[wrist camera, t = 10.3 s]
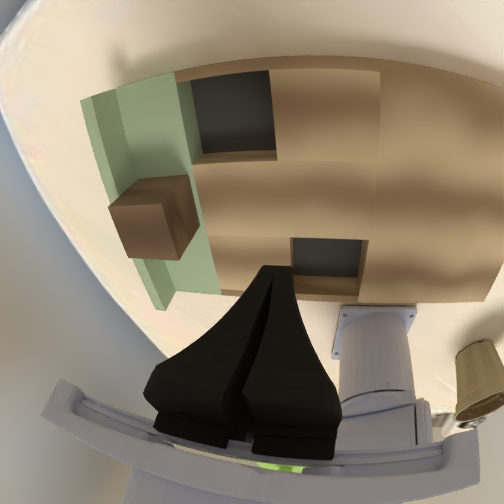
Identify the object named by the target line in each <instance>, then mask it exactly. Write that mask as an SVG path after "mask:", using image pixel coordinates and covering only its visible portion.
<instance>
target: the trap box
mask: <svg viewBox="0 0 504 504" xmlns="http://www.w3.org/2000/svg"><path fill="white" fill-rule="evenodd" d="M80 102H81V106H82V111H83V115H84V119H85V123H86V127H87V130H88V134H89V138H90V141H91V145H92V148H93V152H94V155H95V159H96V162H97V165H98V168H99V171H100V174H101V178H102V181H103V184H104V187H105V189H106V192H107V195H108V198H109V201H110V204H112V203H113V202H114V201H115V200H116V199H117V198H118V197H119V196H120V195H122V194H123V193H124V192H125V191H126V190H127V189H128V188H129V187H131V186H132V185H133V184H134V183H135V182H136V181H137V180H139V179H144V178H153V177H164V176H175V175H188V174H189V178H190V183H191V187H192V192H193V196H194V201H195V205H196V209H197V214H198V218H199V222H200V227H199V228H198V230H197V232H196V233H195V235H194V237H193V238H192V240H191V242H190V243H189V245H188V247H187V248H186V250H185V252H184V253H183V255H182V257H181V259H180V260H179V261H171V260H154V259H137V258H132V259H133V261H134V264H135V266H136V268H137V271H138V273H139V275H140V277H141V279H142V282H143V284H144V286H145V288H146V290H147V292H148V294H149V296H150V299H151V301H152V303H153V305H154V307H155V309H156V310H162V311H166V309H167V307H168V305H169V303H170V301H171V299H172V297H173V296H174V294H175V292H176V291H182V292H193V293H203V294H215V295H227V296H240V297H241V295H242V294H243V293H244V291H245V290H246V289H247V288H248V286H249V285H250V283H251V282H252V281H253V279H254V278H255V276H256V275H257V273H258V271H259V270H260V268H261V267H262V266H263V265H280V266H292V267H293V268H294V291H295V296H296V300H306V301H330V302H364V303H456V302H484V300H485V298H486V296H487V295H488V293H489V291H490V289H491V287H492V285H493V283H494V281H495V279H496V277H497V275H498V273H499V271H500V269H501V266H502V264H503V262H504V89H503V88H500V87H497V86H494V85H492V84H489V83H486V82H483V81H480V80H476V79H473V78H470V77H466V76H463V75H459V74H456V73H452V72H448V71H444V70H439V69H435V68H430V67H425V66H420V65H415V64H409V63H403V62H396V61H389V60H381V59H371V58H360V57H345V56H283V57H267V58H256V59H246V60H238V61H230V62H223V63H217V64H211V65H205V66H199V67H194V68H189V69H185V70H180V71H176V72H171V73H167V74H163V75H159V76H155V77H152V78H148V79H145V80H141V81H138V82H134V83H131V84H128V85H125V86H122V87H119V88H116V89H113V90H109V91H106V92H103V93H100V94H97V95H94V96H91V97H88V98H86V99H83V100H81V101H80Z"/></svg>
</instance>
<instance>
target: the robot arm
mask: <svg viewBox="0 0 504 504" xmlns="http://www.w3.org/2000/svg"><path fill="white" fill-rule="evenodd" d="M416 314H417V308H416V307H373V306H343V307H342V308H341V309H340V315H339V321H338V326H337V331H336V336H335V341H334V346H333V351H332V359H333V360H340V371H339V395H338V394H337V390H336V387H335V385H334V384H333V382H332V381H331V379H330V378H329V376H328V374H327V373H326V371H325V369H324V367H323V366H322V364H321V362H320V360H319V358H318V356H317V354H316V352H315V350H314V348H313V346H312V344H311V341H310V339H309V337H308V334H307V332H306V329H305V327H304V324H303V321H302V318H301V315H300V311H299V308H298V304H297V300H296V296H295V291H294V268H293V267H292V266H280V265H263V266H262V267H261V268H260V270H259V271H258V273H257V275H256V276H255V278H254V279H253V281H252V282H251V283H250V285H249V286H248V288H247V289H246V290H245V291H244V293H243V294H242V295H241V297H240V298H239V299H238V300H237V302H236V303H235V304H234V305H233V306H232V307H231V309H230V310H229V311H228V312H227V313H226V314H225V315H224V316H223V317H222V318H221V319H220V320H219V321H218V322H217V323H216V324H215V325H214V326H213V327H212V328H211V329H209V330H208V331H207V332H206V333H205V334H204V335H202V336H201V337H200V338H199V339H197V340H196V341H195V342H193V343H192V344H191V345H189V346H188V347H186V348H185V349H183V350H182V351H181V352H179V353H177V354H176V355H174V356H172V357H171V358H169V359H167V360H166V361H164V362H162V363H160V364H158V365H156V367H155V369H154V370H153V372H152V374H151V376H150V378H149V380H148V382H147V385H146V387H145V389H144V392H143V395H144V397H145V399H146V400H147V401H148V402H149V403H150V404H151V405H152V406H153V407H154V408H155V409H156V410H157V411H158V414H157V417H156V420H155V421H154V420H151V419H148V418H145V417H142V416H139V415H136V414H133V413H130V412H128V411H125V410H122V409H120V408H117V407H115V406H112V405H110V404H107V403H105V402H102V401H100V400H98V399H95V398H93V397H91V396H88V395H86V394H84V392H83V391H82V390H81V389H80V388H78V387H77V386H75V385H74V384H72V383H70V382H68V381H66V380H64V379H61V378H60V379H59V381H58V382H57V384H56V386H55V388H54V390H53V392H52V394H51V395H50V398H49V399H48V401H47V403H46V405H45V407H44V409H43V411H42V413H41V416H42V417H44V418H45V419H47V420H48V421H50V422H51V423H52V424H54V425H56V426H57V427H59V428H60V429H62V430H63V431H65V432H66V433H68V434H70V435H71V436H73V437H75V438H77V439H78V440H80V441H82V442H84V443H85V444H87V445H89V446H91V447H93V448H94V449H96V450H98V451H100V452H102V453H104V454H106V455H108V456H110V457H112V458H114V459H116V460H118V461H121V462H123V463H125V464H127V465H130V466H132V467H133V469H132V472H131V475H130V477H129V480H128V483H127V486H126V489H125V492H124V494H123V497H122V500H121V503H120V504H402V503H403V502H408V501H414V500H420V499H425V498H429V497H434V496H438V495H442V494H446V493H450V492H454V491H457V490H460V489H464V488H467V487H470V486H473V485H476V484H478V483H479V482H480V459H479V458H480V457H479V441H478V430H477V429H474V430H470V431H465V432H461V433H457V434H453V435H450V436H448V437H447V438H445V439H444V440H443V441H440V442H434V443H433V433H432V420H431V411H430V404H429V402H428V401H426V400H424V398H419V399H417V400H416V396H415V389H414V380H413V371H412V364H411V356H410V350H409V343H408V337H407V333H408V331H409V329H410V327H411V325H412V323H413V321H414V318H415V316H416ZM160 439H161V440H160ZM253 439H254V440H253ZM163 440H164V441H163ZM165 441H167V442H165ZM168 442H171V443H174V444H177V445H181V446H185V447H188V448H192V449H195V450H200V451H203V452H208V453H212V454H216V455H221V456H226V457H231V458H236V459H242V460H248V461H254V462H261V463H269V464H278V465H287V466H300V467H305V468H303V469H302V474H301V473H292V472H285V471H278V470H272V469H266V468H260V467H254V466H249V465H244V464H239V463H234V462H230V461H225V460H220V459H216V458H211V457H207V456H203V455H198V454H195V453H191V452H187V451H184V450H180V449H177V448H175V447H174V446H173V445H172V444H170V443H168Z"/></svg>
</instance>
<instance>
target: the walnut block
mask: <svg viewBox="0 0 504 504" xmlns="http://www.w3.org/2000/svg"><path fill="white" fill-rule="evenodd" d="M108 209H109V211H110V214H111V217H112V219H113V222H114V224H115V227H116V229H117V232H118V234H119V237H120V239H121V242H122V244H123V247H124V249H125V251H126V254H127V256H128V258H137V259H154V260H171V261H179V260H180V259H181V257H182V255H183V253H184V252H185V250H186V248H187V247H188V245H189V243H190V242H191V240H192V238H193V237H194V235H195V233H196V232H197V230H198V228H199V227H200V222H199V218H198V214H197V209H196V205H195V201H194V196H193V192H192V187H191V183H190V178H189V174H188V175H175V176H164V177H153V178H144V179H139V180H137V181H136V182H135V183H134V184H133V185H132V186H131V187H129V188H128V189H127V190H126V191H125V192H124V193H123V194H122V195H120V196H119V197H118V198H117V199H116V200H115V201H114V202H113V203H112V204H111V205H110V206H108Z"/></svg>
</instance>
